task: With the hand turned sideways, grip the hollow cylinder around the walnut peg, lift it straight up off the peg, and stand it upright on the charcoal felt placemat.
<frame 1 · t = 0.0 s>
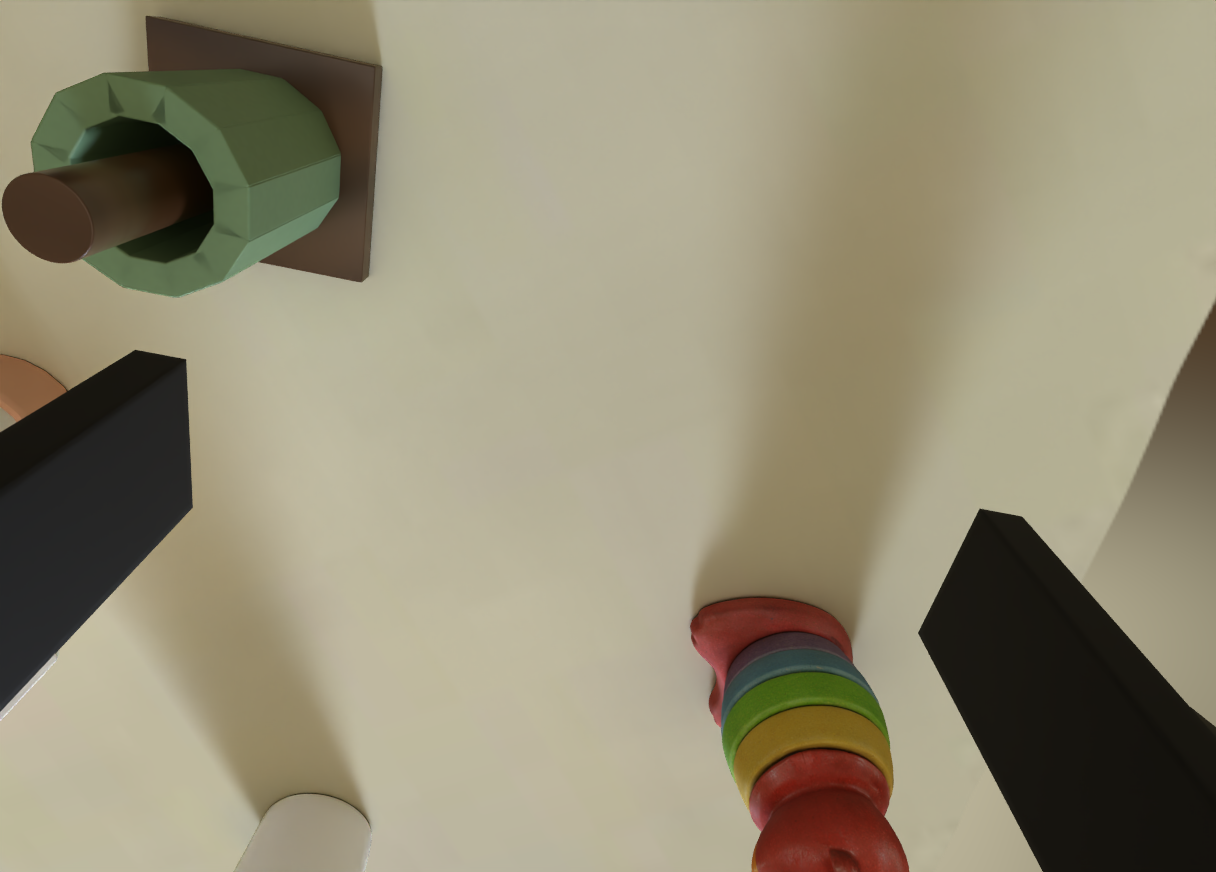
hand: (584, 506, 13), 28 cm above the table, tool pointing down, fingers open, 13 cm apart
stacking bear: (774, 653, 51), on the table
pepper shaker: (20, 413, 43), on the table
hollow cylinder: (261, 158, 36), point 1 cm above the table, touching peg stand
candle holder: (319, 827, 59), on the table
peg stand: (271, 155, 37), on the table
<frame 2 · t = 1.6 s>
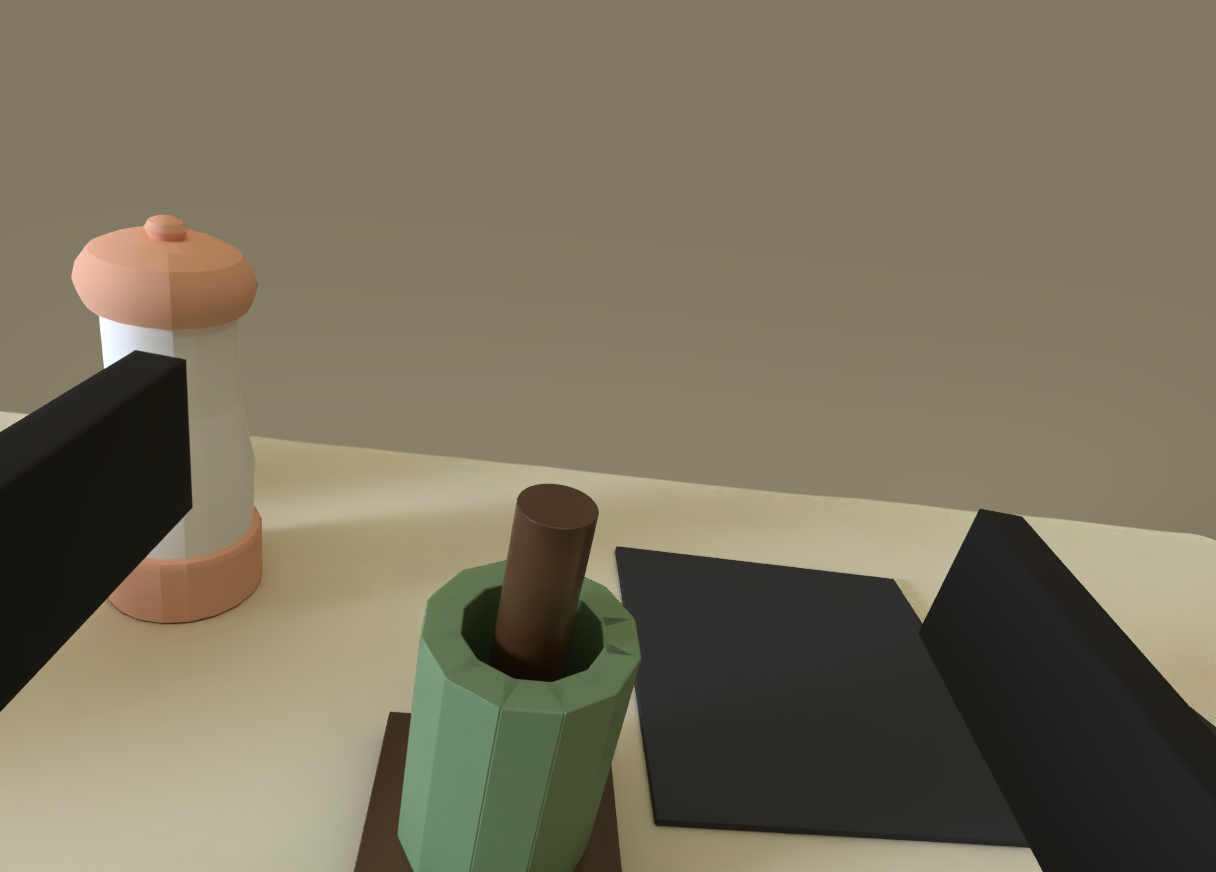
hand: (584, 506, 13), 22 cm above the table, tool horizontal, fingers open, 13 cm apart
pepper shaker: (187, 580, 41), on the table
placemat: (801, 675, 44), on the table
hollow cylinder: (495, 818, 31), point 1 cm above the table, touching peg stand
peg stand: (491, 837, 31), on the table
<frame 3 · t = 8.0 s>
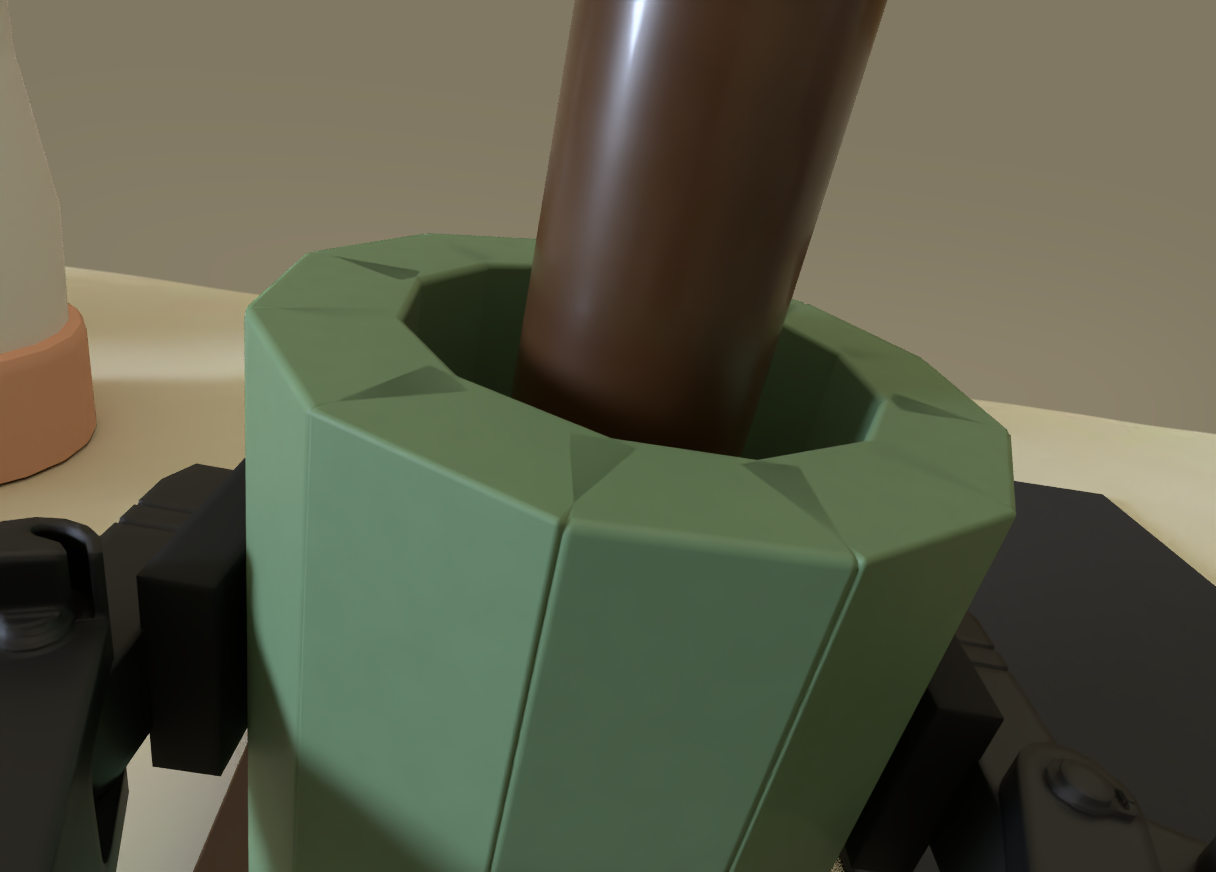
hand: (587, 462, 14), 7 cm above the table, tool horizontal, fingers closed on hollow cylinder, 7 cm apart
placemat: (1028, 622, 25), on the table
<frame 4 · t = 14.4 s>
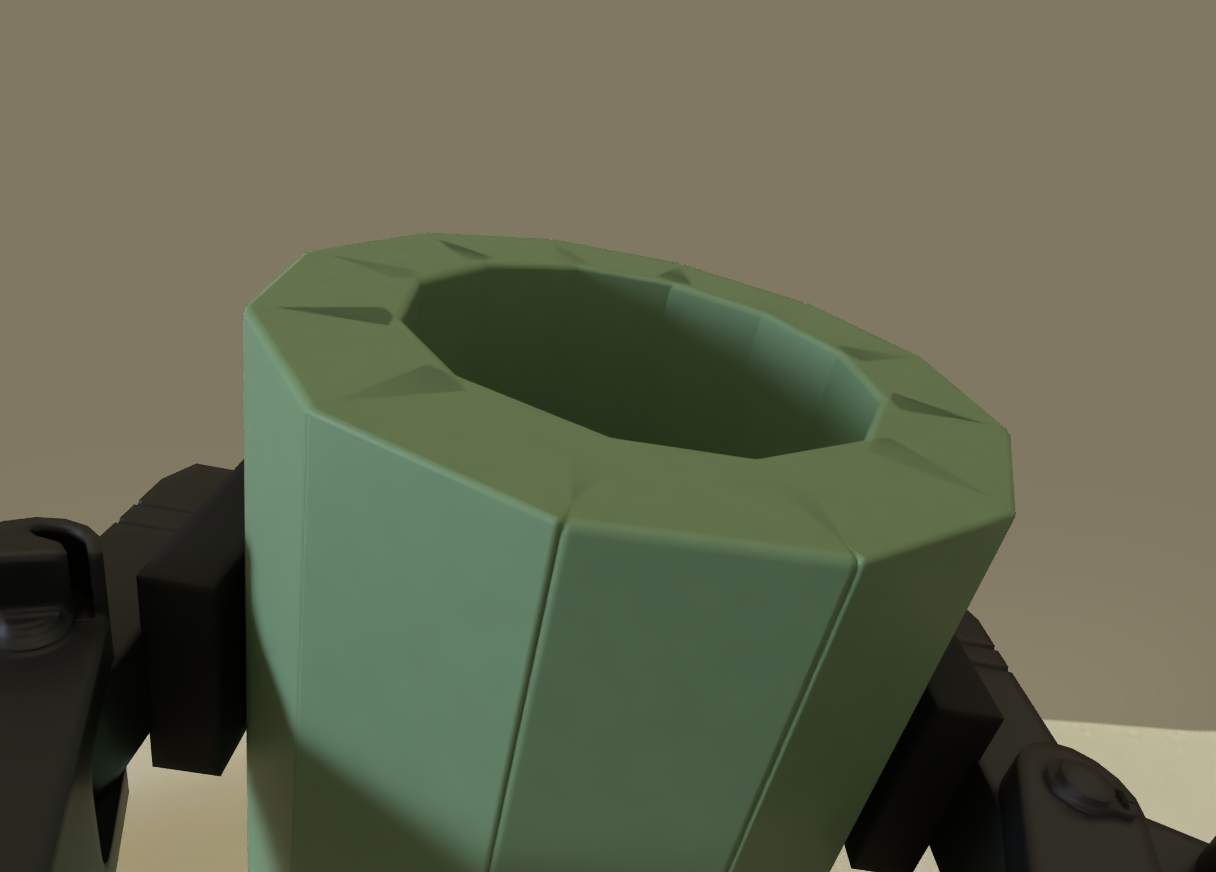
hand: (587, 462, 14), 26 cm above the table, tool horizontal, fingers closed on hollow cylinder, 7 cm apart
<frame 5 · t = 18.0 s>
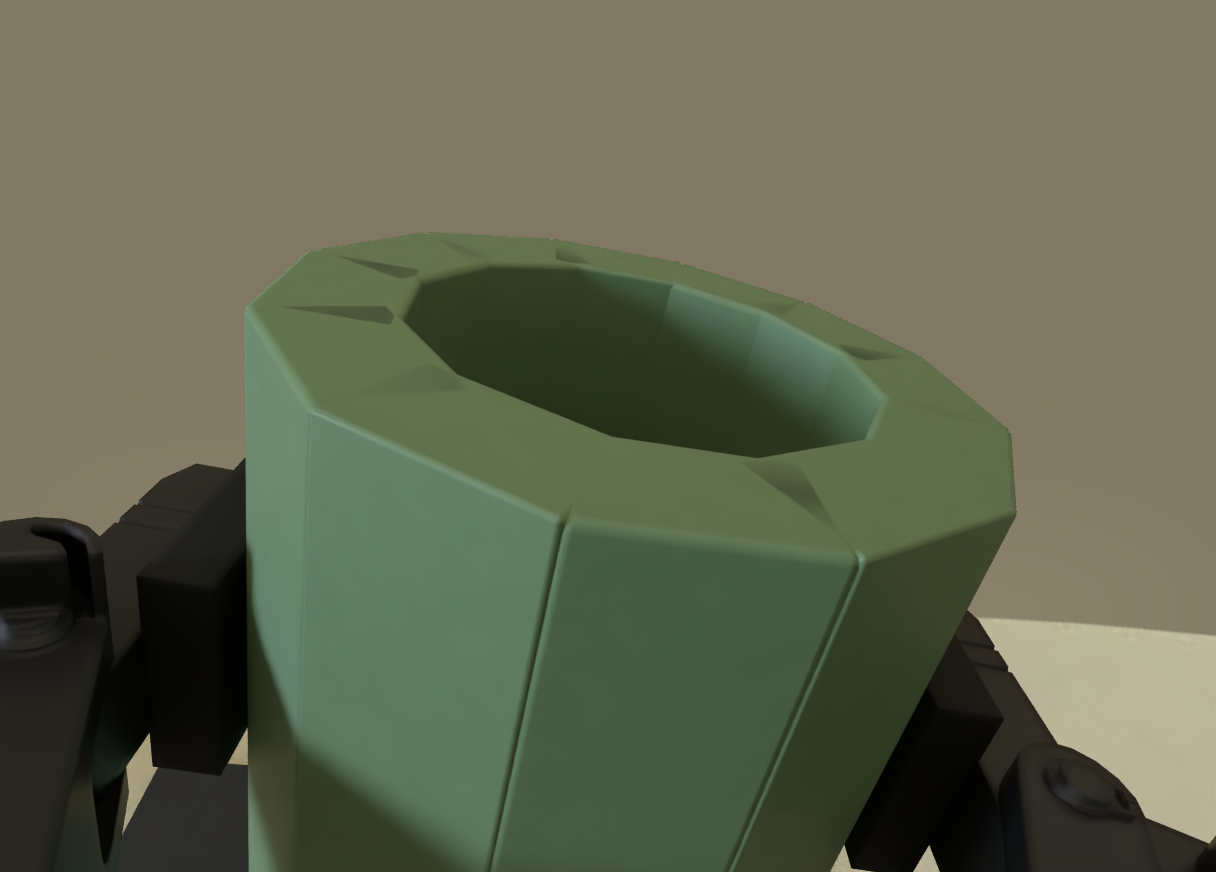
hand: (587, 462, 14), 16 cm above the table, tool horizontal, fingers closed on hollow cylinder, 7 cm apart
when the fingers open (6 cm above the table, at t = 20.9 s): hollow cylinder stays where it is, resting on placemat.
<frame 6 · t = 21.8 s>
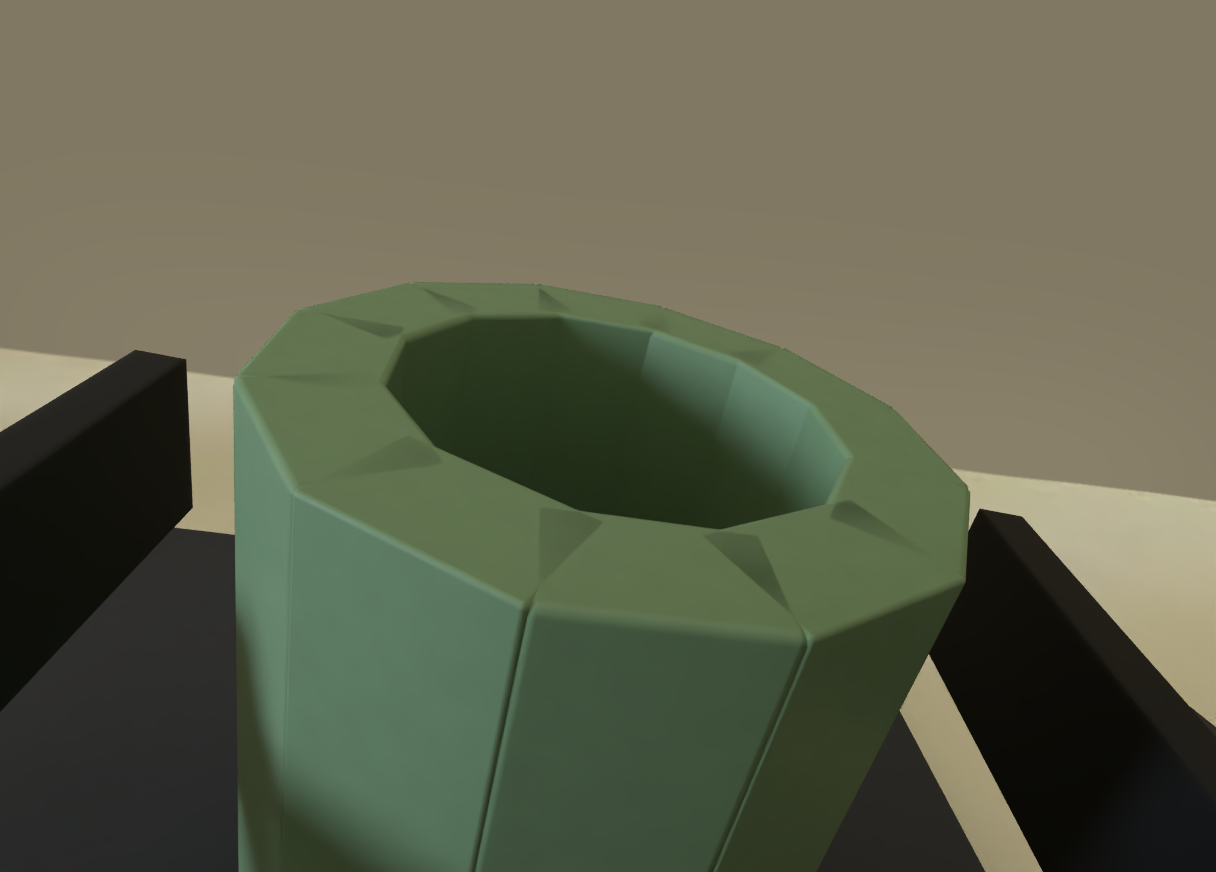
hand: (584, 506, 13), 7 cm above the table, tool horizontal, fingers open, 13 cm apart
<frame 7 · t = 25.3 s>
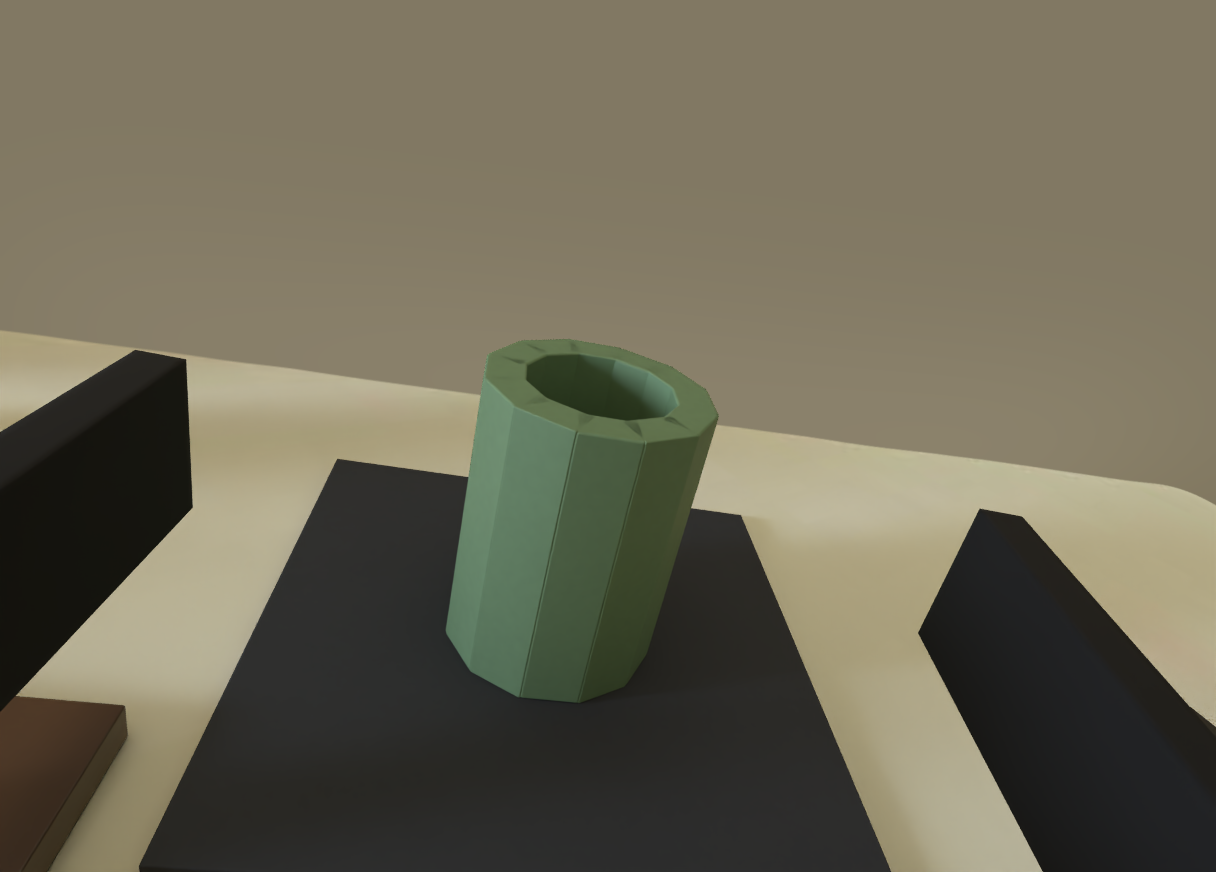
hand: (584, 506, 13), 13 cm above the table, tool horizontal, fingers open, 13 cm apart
placemat: (548, 634, 29), on the table
hollow cylinder: (548, 625, 29), resting on placemat
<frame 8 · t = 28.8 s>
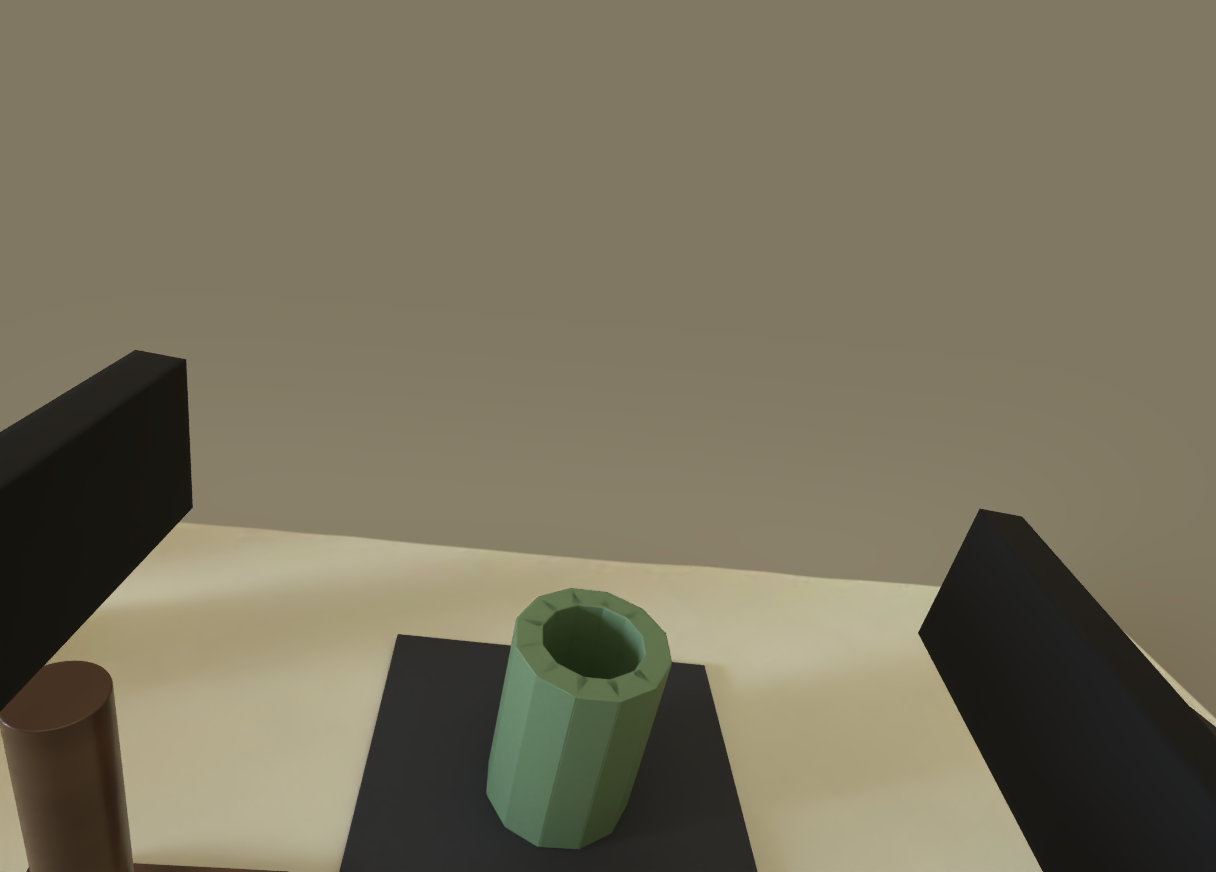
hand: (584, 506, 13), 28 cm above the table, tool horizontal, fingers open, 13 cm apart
placemat: (557, 788, 41), on the table
hollow cylinder: (557, 783, 40), resting on placemat
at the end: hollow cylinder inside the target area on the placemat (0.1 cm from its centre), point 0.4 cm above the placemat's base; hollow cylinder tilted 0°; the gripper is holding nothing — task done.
